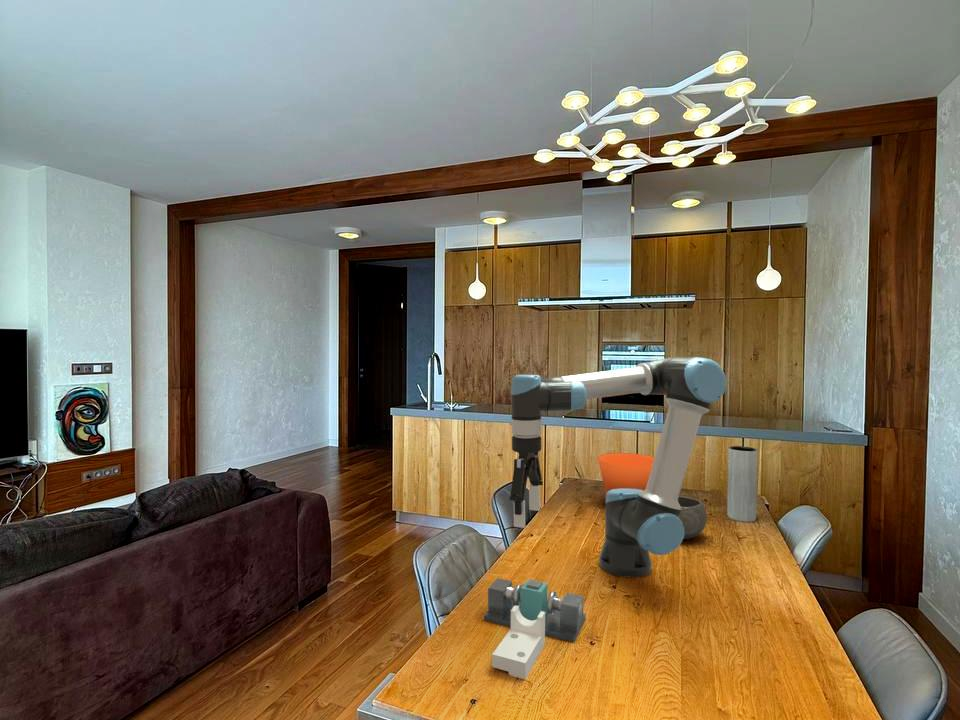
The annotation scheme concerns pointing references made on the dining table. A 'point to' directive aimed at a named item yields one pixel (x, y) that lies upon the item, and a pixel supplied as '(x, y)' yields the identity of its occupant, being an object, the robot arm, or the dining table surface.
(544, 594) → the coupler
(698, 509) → the bowl
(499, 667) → the bracket
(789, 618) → the dining table surface
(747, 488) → the vase
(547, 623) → the shaft bench
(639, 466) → the flowerpot
